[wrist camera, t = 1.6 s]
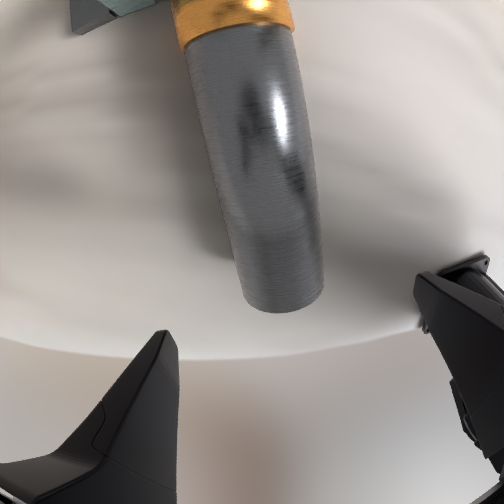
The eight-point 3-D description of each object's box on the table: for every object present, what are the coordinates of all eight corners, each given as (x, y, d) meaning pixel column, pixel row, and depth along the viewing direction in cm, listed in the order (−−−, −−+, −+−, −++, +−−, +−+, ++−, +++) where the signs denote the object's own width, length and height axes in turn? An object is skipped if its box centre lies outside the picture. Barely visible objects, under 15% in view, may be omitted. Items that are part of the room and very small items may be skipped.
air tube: (165, -44, 6) (149, -86, 3) (253, -58, 6) (267, -102, 3) (237, 270, 15) (244, 324, 12) (311, 253, 15) (339, 301, 12)
